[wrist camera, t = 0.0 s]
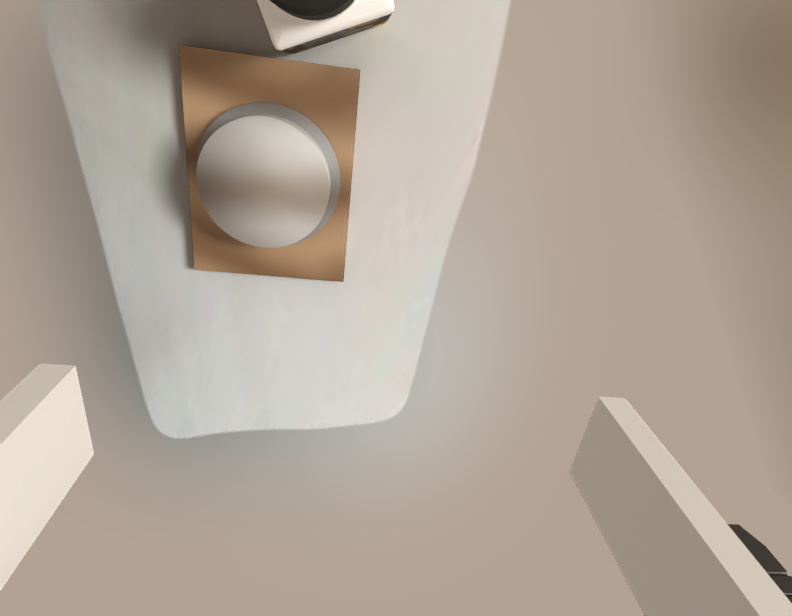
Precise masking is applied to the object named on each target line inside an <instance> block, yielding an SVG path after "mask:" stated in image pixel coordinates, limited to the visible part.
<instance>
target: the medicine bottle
mask: <svg viewBox="0 0 792 616" xmlns="http://www.w3.org/2000/svg"><path fill="white" fill-rule="evenodd" d="M257 2H258V5H259V7H260V10H261V13H262V16H263V18H264V21H265V24H266V27H267V30H268V32H269V35H270V38H271V41H272V43H273V46H274V47H275V49H277V50H279V51H283V52H288V53H292V54H293V53H298V52H301V51H304V50H307V49H310V48H313V47H316V46H319V45H322V44H325V43H328V42H331V41H334V40H337V39H340V38H343V37H346V36H349V35H352V34H355V33H358V32H361V31H364V30H367V29H370V28H373V27H376V26H379V25H382V24H384V23H386V22H387V20H388V19H389V17H390V16H391V14H392V12H393V10H394V1H393V0H257Z"/></svg>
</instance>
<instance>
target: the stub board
mask: <svg viewBox="0 0 792 616" xmlns="http://www.w3.org/2000/svg"><path fill="white" fill-rule="evenodd" d="M179 55H180V70H181V84H182V98H183V112H184V127H185V141H186V155H187V170H188V184H189V198H190V213H191V227H192V241H193V256H194V269H197V270H209V271H221V272H233V273H245V274H257V275H269V276H281V277H293V278H305V279H317V280H329V281H341V282H343V279H344V267H345V254H346V242H347V229H348V217H349V205H350V192H351V180H352V167H353V155H354V142H355V130H356V118H357V105H358V93H359V80H360V70H357V69H350V68H343V67H336V66H328V65H321V64H314V63H306V62H299V61H292V60H285V59H277V58H270V57H263V56H256V55H248V54H241V53H234V52H227V51H219V50H212V49H205V48H197V47H190V46H183V45H179Z"/></svg>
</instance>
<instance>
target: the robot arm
mask: <svg viewBox="0 0 792 616" xmlns="http://www.w3.org/2000/svg"><path fill="white" fill-rule="evenodd" d="M93 454H94V452H93V447H92V442H91V438H90V433H89V428H88V424H87V418H86V413H85V409H84V404H83V400H82V394H81V390H80V385H79V380H78V375H77V370H76V366H73V365H56V364H39V365H38V366H37V367H36V368H35V369H34V370H33V371H32V372H31V373H30V374H29V375H28V376H27V377H26V378H24V379H23V380H22V381H21V382H20V383H19V384H18V385H17V386H16V387H15V388H14V389H13V390H11V391H10V392H9V393H8V394H7V395H6V396H5V397H4V398H3V399H2V400H1V401H0V590H1V589H2V588H3V586H4V585H5V583H6V582H7V580H8V579H9V577H10V576H11V574H12V573H13V572H14V570H15V569H16V567H17V566H18V564H19V563H20V561H21V560H22V558H23V557H24V555H25V554H26V553H27V551H28V550H29V548H30V546H31V545H32V544H33V542H34V541H35V539H36V538H37V536H38V535H39V534H40V532H41V531H42V529H43V528H44V526H45V525H46V523H47V522H48V520H49V519H50V517H51V515H52V514H53V513H54V512H55V510H56V509H57V507H58V506H59V504H60V503H61V501H62V500H63V498H64V497H65V495H66V494H67V493H68V491H69V489H70V488H71V486H72V485H73V484H74V482H75V481H76V479H77V477H78V476H79V475H80V473H81V472H82V471H83V469H84V468H85V466H86V465H87V463H88V462H89V460H90V459H91V457H92V456H93ZM570 474H571V476H572V478H573V480H574V482H575V484H576V486H577V488H578V489H579V491H580V493H581V495H582V497H583V499H584V501H585V503H586V505H587V507H588V509H589V510H590V512H591V514H592V516H593V518H594V520H595V522H596V524H597V526H598V527H599V530H600V531H601V533H602V535H603V537H604V539H605V541H606V543H607V545H608V547H609V549H610V550H611V552H612V554H613V556H614V558H615V560H616V562H617V564H618V566H619V568H620V569H621V571H622V573H623V575H624V577H625V579H626V581H627V583H628V585H629V587H630V589H631V590H632V592H633V594H634V596H635V598H636V600H637V602H638V604H639V606H640V608H641V610H642V611H643V613H644V615H645V616H792V577H791V576H788V575H787V574H786V570H785V569H784V568H783V566H782V565H781V564H780V563H779V562H778V561H777V559H776V558H775V557H774V556H773V555H772V554H771V552H770V551H769V550H768V549H767V548H766V546H764V545H763V544H762V543H761V542H759V541H758V540H757V539H756V538H754V537H753V536H752V535H750V533H748V532H747V531H746V530H744V529H743V528H742V527H741V526H740V525H732V524H727V523H726V522H725V521H724V519H722V517H721V516H720V514H719V513H718V512H717V511H716V510H715V508H714V507H713V506H712V505H711V503H710V502H709V501H708V500H707V498H706V497H705V496H704V495H703V494H702V492H701V491H700V490H699V489H698V487H697V486H696V485H695V484H694V483H693V481H692V480H691V479H690V477H689V476H688V475H687V474H686V473H685V471H684V470H683V469H682V468H681V466H680V465H679V464H678V463H677V462H676V460H675V459H674V458H673V456H672V455H671V454H670V453H669V452H668V450H667V449H666V448H665V447H664V445H663V444H662V443H661V442H660V441H659V439H658V438H657V437H656V436H655V434H654V433H653V432H652V431H651V429H650V428H649V427H648V426H647V424H646V423H645V422H644V421H643V419H642V418H641V417H640V416H639V415H638V413H637V412H636V411H635V410H634V408H633V407H632V406H631V405H630V403H629V402H628V401H627V400H626V399H625V398H613V397H598V400H597V403H596V405H595V408H594V410H593V413H592V415H591V418H590V420H589V423H588V426H587V428H586V431H585V433H584V436H583V439H582V441H581V444H580V446H579V449H578V452H577V454H576V457H575V459H574V462H573V465H572V467H571V470H570Z"/></svg>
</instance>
